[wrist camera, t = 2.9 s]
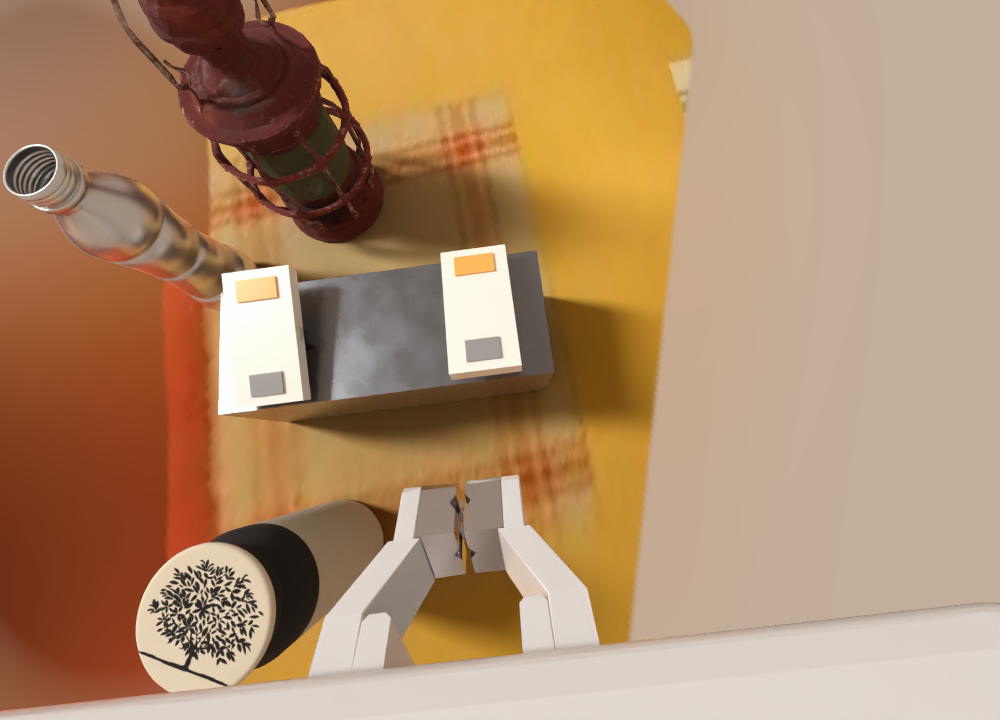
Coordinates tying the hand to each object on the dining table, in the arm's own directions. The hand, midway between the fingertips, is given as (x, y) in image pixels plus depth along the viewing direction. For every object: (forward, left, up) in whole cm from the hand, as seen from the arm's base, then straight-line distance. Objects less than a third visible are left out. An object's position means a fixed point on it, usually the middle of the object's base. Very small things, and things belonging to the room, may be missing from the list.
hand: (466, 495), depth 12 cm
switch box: (+11, +8, -29) cm, 32 cm away
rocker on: (+11, 0, -17) cm, 21 cm away
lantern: (+30, +15, -30) cm, 45 cm away
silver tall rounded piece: (+21, +26, -30) cm, 45 cm away
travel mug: (-6, +16, -30) cm, 34 cm away
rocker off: (+11, +16, -17) cm, 26 cm away
